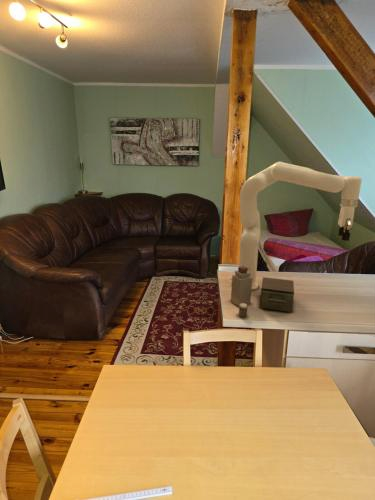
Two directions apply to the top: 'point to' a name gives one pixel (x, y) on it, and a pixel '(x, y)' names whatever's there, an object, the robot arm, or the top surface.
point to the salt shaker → (243, 310)
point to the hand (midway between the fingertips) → (343, 238)
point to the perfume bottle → (241, 286)
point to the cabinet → (277, 287)
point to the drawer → (276, 300)
